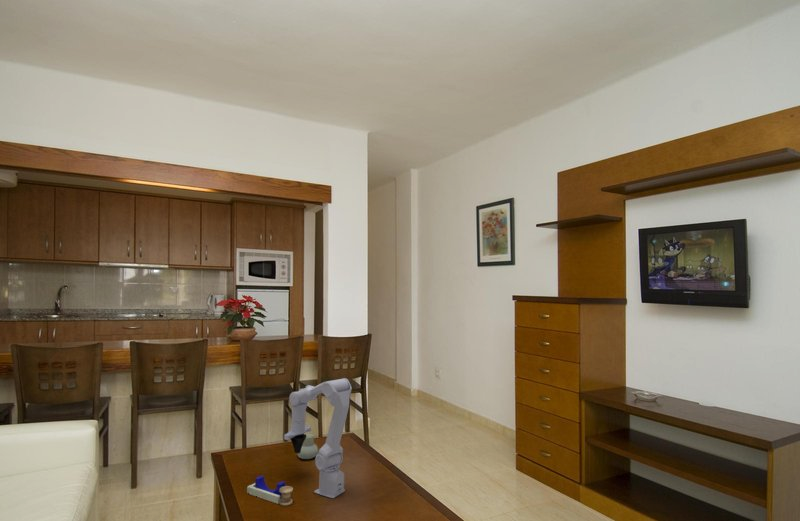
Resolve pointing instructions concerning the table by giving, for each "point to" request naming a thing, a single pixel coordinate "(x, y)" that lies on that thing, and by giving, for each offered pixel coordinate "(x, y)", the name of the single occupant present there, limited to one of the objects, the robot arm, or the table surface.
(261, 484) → the blue curved block
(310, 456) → the air freshener
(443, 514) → the table surface
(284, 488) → the bobbin
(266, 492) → the notched fence
